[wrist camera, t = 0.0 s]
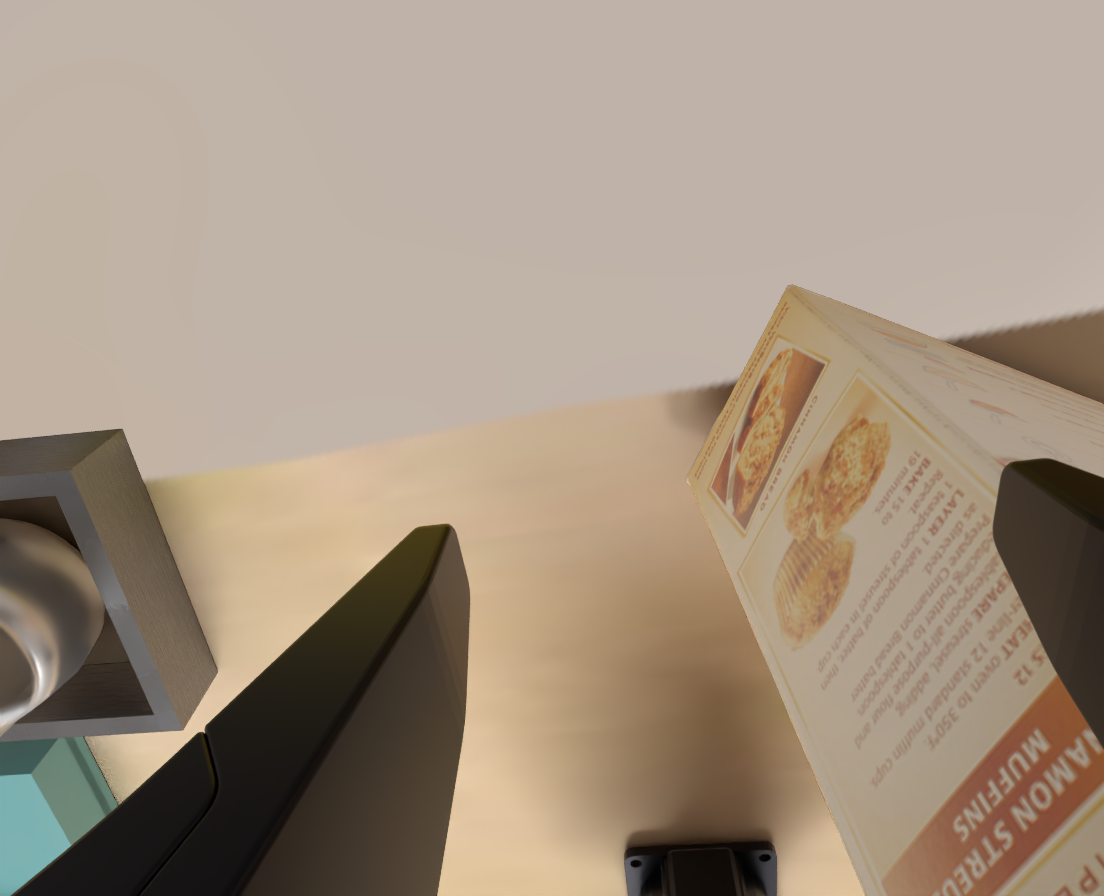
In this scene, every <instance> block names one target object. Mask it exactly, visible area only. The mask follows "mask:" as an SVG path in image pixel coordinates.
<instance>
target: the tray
mask: <svg viewBox="0 0 1104 896" xmlns="http://www.w3.org/2000/svg"><path fill="white" fill-rule="evenodd" d="M117 806H118V804H117V802H116V800H115V798H114V796H113V795H112V793H111V791H110V789H109V787H108V785H107V783H106V781H105V779H104V777H103V775H102V773H101V771H100V769H99V767H98V765H97V763H96V761H95V759H94V757H93V755H92V753H91V752H90V750H89V748H88V746H87V744H86V742H85V740H84V738H83V737H69V738H53V739H37V740H21V741H5V742H0V896H11V895H12V894H13V893H14V892H15V891H17V890H18V889H19V888H20V887H22V886H23V885H24V884H25V883H26V882H28V881H29V880H30V879H31V878H33V877H34V876H35V875H36V874H37V873H39V872H40V871H41V870H42V869H44V868H45V867H46V866H47V865H48V864H50V863H51V862H52V861H53V860H55V859H56V858H57V857H58V856H59V855H61V854H62V853H63V852H64V851H65V850H67V849H68V848H69V847H70V846H71V845H73V844H74V843H75V842H76V841H77V840H78V839H80V838H81V837H82V836H83V835H84V834H86V833H87V832H88V831H89V830H90V829H91V828H93V827H94V826H95V825H96V824H97V823H99V822H100V821H101V820H102V819H103V818H104V817H106V816H107V815H108V814H109V813H110V812H112V811H113V810H114V809H115V808H116V807H117Z"/></svg>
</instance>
